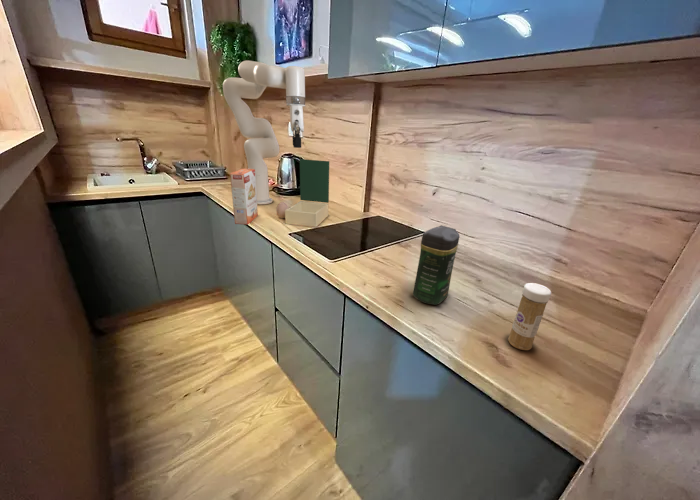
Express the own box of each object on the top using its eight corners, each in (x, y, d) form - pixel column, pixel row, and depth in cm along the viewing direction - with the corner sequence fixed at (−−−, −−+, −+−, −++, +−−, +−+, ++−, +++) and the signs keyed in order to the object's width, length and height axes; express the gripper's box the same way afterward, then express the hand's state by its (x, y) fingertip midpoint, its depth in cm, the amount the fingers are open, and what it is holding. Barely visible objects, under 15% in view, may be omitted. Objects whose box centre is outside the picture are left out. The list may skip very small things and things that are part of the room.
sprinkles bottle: (503, 340, 64) (519, 284, 59) (516, 334, 66) (533, 280, 61) (523, 354, 60) (542, 296, 55) (537, 347, 62) (557, 290, 57)
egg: (290, 219, 135) (290, 202, 132) (278, 220, 132) (277, 203, 130) (287, 215, 139) (286, 200, 136) (275, 217, 137) (274, 200, 134)
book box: (315, 227, 126) (315, 213, 124) (285, 223, 129) (284, 210, 127) (328, 215, 142) (328, 203, 140) (301, 212, 145) (300, 200, 142)
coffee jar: (437, 309, 73) (450, 238, 66) (408, 298, 78) (417, 229, 71) (452, 294, 81) (465, 228, 73) (424, 284, 85) (434, 220, 78)
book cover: (328, 161, 132) (332, 160, 137) (299, 159, 135) (304, 158, 140) (328, 202, 139) (331, 200, 144) (300, 200, 142) (304, 197, 147)
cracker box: (249, 225, 125) (244, 173, 116) (234, 224, 125) (228, 172, 116) (259, 215, 137) (255, 168, 129) (245, 215, 138) (241, 167, 129)
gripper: (306, 101, 115) (307, 148, 122) (303, 103, 131) (304, 145, 138) (286, 100, 114) (288, 148, 121) (286, 102, 129) (287, 144, 136)
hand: (296, 146), depth 129 cm, fingers open, 9 cm apart
